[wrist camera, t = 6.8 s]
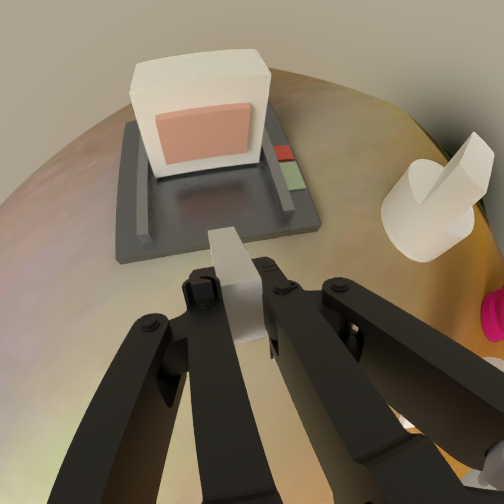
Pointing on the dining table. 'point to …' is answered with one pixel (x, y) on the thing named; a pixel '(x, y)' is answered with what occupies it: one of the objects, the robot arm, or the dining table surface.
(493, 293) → the pepper mill
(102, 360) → the dining table surface
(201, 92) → the white block
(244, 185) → the track
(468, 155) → the base with upright slab
